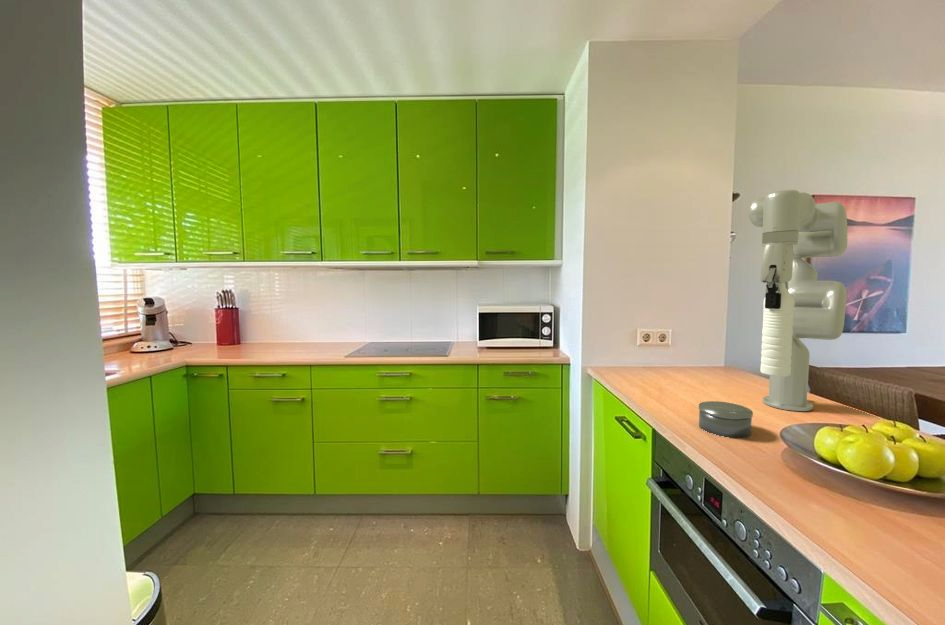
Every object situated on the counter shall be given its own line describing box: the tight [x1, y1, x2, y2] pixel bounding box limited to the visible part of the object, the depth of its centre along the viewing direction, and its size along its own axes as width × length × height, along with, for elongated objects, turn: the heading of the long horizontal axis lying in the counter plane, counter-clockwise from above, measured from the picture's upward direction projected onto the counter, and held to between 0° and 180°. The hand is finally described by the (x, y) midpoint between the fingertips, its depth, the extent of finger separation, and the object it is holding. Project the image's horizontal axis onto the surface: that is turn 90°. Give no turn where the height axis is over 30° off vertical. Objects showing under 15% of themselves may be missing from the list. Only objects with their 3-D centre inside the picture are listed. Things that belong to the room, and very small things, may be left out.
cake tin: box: [698, 400, 754, 439], centre depth 106 cm, size 12×12×6 cm
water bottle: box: [759, 282, 795, 377], centre depth 105 cm, size 9×6×25 cm
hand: (776, 306), depth 104 cm, fingers closed on water bottle, 6 cm apart
